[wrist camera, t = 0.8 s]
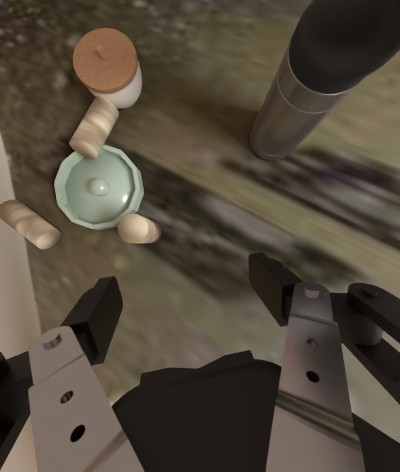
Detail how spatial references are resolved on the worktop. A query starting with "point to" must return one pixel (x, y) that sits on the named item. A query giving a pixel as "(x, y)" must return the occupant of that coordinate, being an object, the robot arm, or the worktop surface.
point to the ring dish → (98, 188)
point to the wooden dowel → (29, 224)
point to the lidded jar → (109, 66)
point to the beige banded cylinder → (94, 128)
